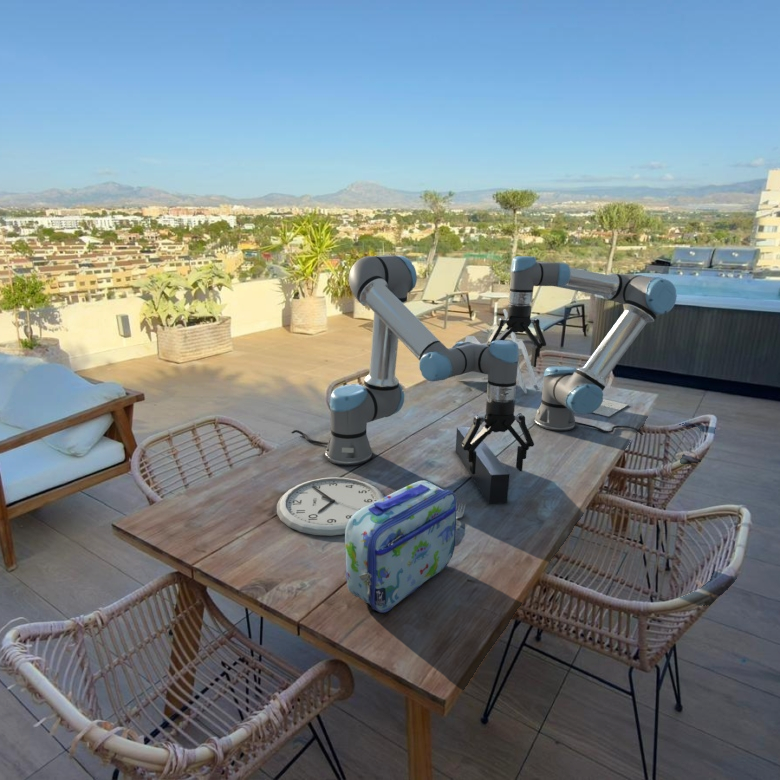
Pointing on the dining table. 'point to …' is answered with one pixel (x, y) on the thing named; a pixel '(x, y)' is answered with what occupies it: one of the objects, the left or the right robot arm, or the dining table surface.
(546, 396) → the right robot arm
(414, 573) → the lunch box
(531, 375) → the white plastic object
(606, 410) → the invitation card
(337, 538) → the dining table surface
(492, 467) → the bar
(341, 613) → the dining table surface
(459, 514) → the fork
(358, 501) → the wall clock
